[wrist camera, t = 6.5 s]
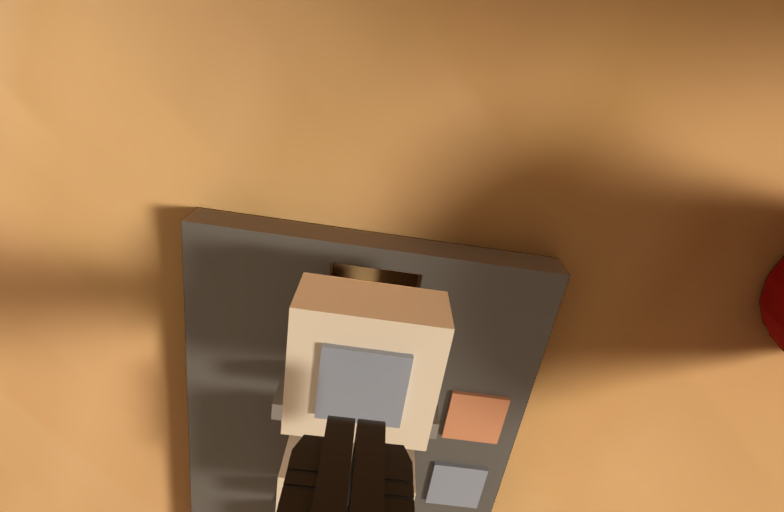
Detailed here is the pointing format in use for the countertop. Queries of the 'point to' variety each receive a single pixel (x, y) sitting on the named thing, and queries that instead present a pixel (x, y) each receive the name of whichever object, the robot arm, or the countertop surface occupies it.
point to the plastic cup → (774, 304)
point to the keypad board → (269, 344)
